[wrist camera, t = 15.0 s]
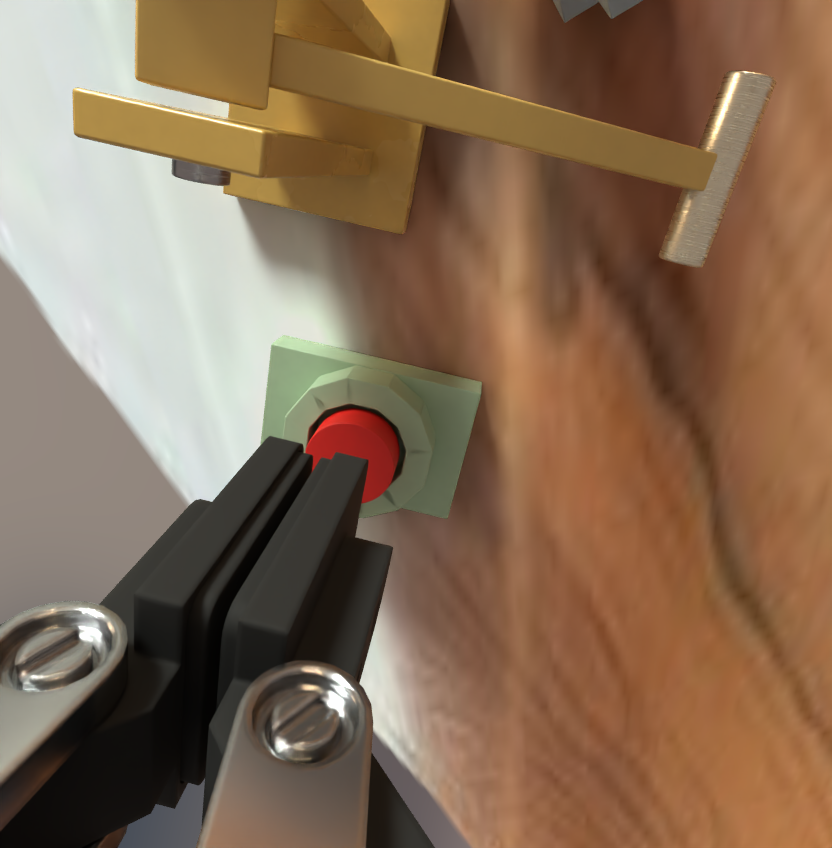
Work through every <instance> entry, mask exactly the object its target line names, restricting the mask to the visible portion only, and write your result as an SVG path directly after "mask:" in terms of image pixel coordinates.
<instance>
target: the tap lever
mask: <svg viewBox="0 0 832 848" xmlns="http://www.w3.org/2000/svg"><path fill="white" fill-rule="evenodd" d="M276 8H277V1H276V0H136V32H135V77H136V79H137V80H138V81H141V82H144V83H147V84H150V85H153V86H157V87H162V88H166V89H170V90H175V91H179V92H183V93H188V94H192V95H196V96H201V97H205V98H209V99H214V100H218V101H222V102H227V103H231V104H235V105H240V106H244V107H248V108H253V109H257V110H265V109H267V106H268V95H269V87H270V88H274V89H278V90H282V91H286V92H291V93H295V94H299V95H303V96H307V97H311V98H315V99H319V100H323V101H327V102H331V103H336V104H340V105H344V106H348V107H352V108H356V109H360V110H364V111H368V112H372V113H377V114H381V115H385V116H389V117H393V118H397V119H401V120H405V121H409V122H413V123H417V124H422V125H426V126H430V127H434V128H438V129H442V130H446V131H450V132H454V133H458V134H462V135H467V136H471V137H475V138H479V139H483V140H487V141H491V142H495V143H499V144H503V145H508V146H512V147H516V148H520V149H524V150H528V151H532V152H536V153H540V154H544V155H548V156H553V157H557V158H561V159H565V160H569V161H573V162H577V163H581V164H585V165H589V166H593V167H598V168H602V169H606V170H610V171H614V172H618V173H622V174H626V175H630V176H634V177H639V178H643V179H647V180H651V181H655V182H659V183H663V184H667V185H671V186H675V187H679V188H683V190H682V193H681V195H680V198H679V201H678V204H677V206H676V209H675V212H674V215H673V217H672V220H671V223H670V225H669V228H668V231H667V234H666V236H665V239H664V242H663V245H662V247H661V250H660V253H659V257H660V258H661V259H664V260H667V261H670V262H674V263H677V264H681V265H685V266H690V267H695V268H702V267H703V265H704V263H705V260H706V258H707V255H708V253H709V250H710V248H711V245H712V243H713V240H714V238H715V235H716V233H717V230H718V228H719V225H720V223H721V220H722V218H723V215H724V213H725V210H726V207H727V205H728V202H729V200H730V197H731V195H732V192H733V190H734V187H735V185H736V182H737V180H738V177H739V175H740V172H741V170H742V167H743V165H744V162H745V160H746V157H747V155H748V152H749V150H750V147H751V145H752V142H753V140H754V137H755V135H756V132H757V130H758V127H759V124H760V122H761V119H762V117H763V114H764V112H765V109H766V107H767V104H768V102H769V99H770V97H771V94H772V92H773V89H774V87H775V84H776V79H775V78H773V77H771V76H769V75H766V74H763V73H758V72H752V71H742V70H735V71H729V72H727V73H726V74H725V75H724V77H723V80H722V83H721V86H720V88H719V91H718V94H717V97H716V99H715V102H714V105H713V108H712V110H711V113H710V116H709V119H708V121H707V124H706V127H705V129H704V132H703V135H702V138H701V140H700V143H699V146H698V148H695V147H692V146H688V145H684V144H681V143H677V142H673V141H670V140H666V139H662V138H659V137H655V136H651V135H648V134H644V133H641V132H637V131H633V130H630V129H626V128H622V127H619V126H615V125H611V124H608V123H604V122H600V121H597V120H593V119H589V118H586V117H582V116H578V115H575V114H571V113H567V112H564V111H560V110H557V109H553V108H549V107H546V106H542V105H538V104H535V103H531V102H527V101H524V100H520V99H516V98H513V97H509V96H505V95H502V94H498V93H494V92H491V91H487V90H484V89H480V88H476V87H473V86H469V85H465V84H462V83H458V82H454V81H451V80H447V79H443V78H440V77H436V76H432V75H429V74H425V73H421V72H418V71H414V70H410V69H407V68H403V67H400V66H396V65H392V64H389V63H385V62H381V61H378V60H374V59H370V58H367V57H363V56H359V55H356V54H352V53H348V52H345V51H341V50H337V49H334V48H330V47H326V46H323V45H319V44H316V43H312V42H308V41H305V40H301V39H297V38H294V37H290V36H286V35H283V34H279V33H274V30H275V19H276Z"/></svg>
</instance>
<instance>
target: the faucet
mask: <svg viewBox="0 0 832 848" xmlns="http://www.w3.org/2000/svg"><path fill="white" fill-rule="evenodd" d="M641 1H643V0H553V2H554V4H555V6H556V8H557V10H558V12H559V14H560V16H561V17H562V19H563V21H564V23H565V22H567V21H569V20H570V19H572V18H574V17H575V16H577V15H579V14H580V13H582V12H584V11H585V10H587V9H588V8H590V7H592V6H593V5H595V4H597V3H598V2H599V3H600V4H601V6H602V7H603V8H604V10H605V11H606V13H607V14H608V16H609V17H610V18H611V19H613V18H614V17H616V16H618V15H619V14H621V13H623V12H624V11H626V10H628V9H629V8H631V7H633V6H634V5H636V4H638V3H639V2H641Z"/></svg>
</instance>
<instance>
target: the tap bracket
mask: <svg viewBox="0 0 832 848" xmlns="http://www.w3.org/2000/svg"><path fill="white" fill-rule="evenodd" d="M276 1H277V8H276V19H275V30H274V33H279V34H283V35H286V36H290V37H294V38H297V39H301V40H305V41H308V42H312V43H316V44H319V45H323V46H326V47H330V48H334V49H337V50H341V51H345V52H348V53H352V54H356V55H359V56H363V57H367V58H370V59H374V60H378V61H381V62H385V63H389V64H392V65H396V66H400V67H403V68H407V69H410V70H414V71H418V72H421V73H425V74H429V75H432V76H436V72H437V67H438V62H439V57H440V51H441V46H442V41H443V36H444V30H445V25H446V20H447V15H448V9H449V4H450V0H276ZM73 122H74V134H75V135H76V136H78V137H80V138H84V139H89V140H93V141H97V142H102V143H106V144H110V145H115V146H119V147H123V148H128V149H132V150H137V151H141V152H145V153H150V154H154V155H158V156H163V157H167V158H171V159H172V175H174V176H175V177H178V178H181V179H184V180H188V181H193V182H198V183H203V184H209V185H217V186H224V189H223V193H224V194H228V195H232V196H236V197H241V198H245V199H249V200H254V201H258V202H262V203H267V204H271V205H275V206H280V207H284V208H288V209H293V210H297V211H302V212H306V213H310V214H315V215H319V216H323V217H328V218H332V219H336V220H341V221H345V222H349V223H354V224H358V225H362V226H367V227H371V228H375V229H380V230H384V231H388V232H393V233H397V234H403V233H405V232H406V229H407V224H408V219H409V214H410V209H411V203H412V198H413V193H414V188H415V182H416V177H417V172H418V167H419V161H420V156H421V151H422V146H423V140H424V135H425V130H426V125H422V124H417V123H413V122H409V121H405V120H401V119H397V118H393V117H389V116H385V115H381V114H377V113H372V112H368V111H364V110H360V109H356V108H352V107H348V106H344V105H340V104H336V103H331V102H327V101H323V100H319V99H315V98H311V97H307V96H303V95H299V94H295V93H291V92H286V91H282V90H278V89H274V88H270V87H269V95H268V106H267V109H265V110H257V109H253V108H248V107H244V106H240V105H235V104H231V103H229V115H228V118H225V117H220V116H215V115H210V114H205V113H200V112H195V111H190V110H185V109H180V108H176V107H171V106H166V105H161V104H156V103H151V102H146V101H141V100H136V99H131V98H127V97H122V96H117V95H112V94H107V93H102V92H97V91H92V90H87V89H82V88H74V89H73Z"/></svg>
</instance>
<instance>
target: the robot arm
mask: <svg viewBox="0 0 832 848" xmlns="http://www.w3.org/2000/svg"><path fill="white" fill-rule="evenodd" d="M368 463H369V461H368V459H364V458H360V457H355V456H351V455H347V454H343V453H339V452H336V453H335V454H334V456H333V457H332V459H327V458H323V457H321V459H320V460H319V462H318V463H317V465H316V466H315V468H314V470H313V471H312V467H313V455H311V454H307V453H304V446H303V444H302V443H298V442H293V441H289V440H285V439H281V438H277V437H273V436H269V437H268V438H267V439H266V440H265V441H264V442H263V443H262V444H261V446H260V447H259V448H258V449H257V450H256V451H255V453H254V454H253V455H252V456H251V457H250V458H249V460H248V461H247V462H246V463H245V464H244V465H243V467H242V468H241V469H240V470H239V471H238V472H237V474H236V475H235V476H234V477H233V478H232V479H231V481H230V482H229V483H228V484H227V485H226V487H225V488H224V489H223V490H222V491H221V492H220V494H219V495H218V496H217V497H216V498H215V499H214V501H213V502H210V501H206V500H202V499H199V500H195V501H194V502H193V503H192V504H191V505H189V506H188V508H187V509H186V510H185V511H184V512H183V513H182V514H181V515H180V516H179V518H178V519H177V520H176V521H175V522H174V523H173V524H172V525H171V526H170V527H169V529H167V531H166V532H165V533H164V534H163V535H162V536H161V537H160V538H159V539H158V541H157V542H156V543H155V544H154V545H153V546H152V547H151V548H150V549H149V550H148V552H147V553H146V554H145V555H144V556H143V557H142V558H141V559H140V560H139V561H138V563H137V564H136V565H135V566H134V567H133V568H132V569H131V570H130V571H129V572H128V573H127V574H126V576H125V577H124V578H123V579H122V580H121V581H120V582H119V583H118V584H117V585H116V587H115V588H114V589H113V590H112V591H111V592H110V593H109V594H108V595H107V597H105V599H104V600H103V601H102V602H101V603H100V604H99V605H97V604H93V603H89V602H82V601H81V602H80V601H79V602H78V601H64V602H57V603H52V604H46V605H41V606H38V607H36V608H33V609H30V610H28V611H25V612H22V613H20V614H18V615H16V616H14V617H13V618H11V619H9V620H8V621H6V622H4V623H3V624H1V625H0V848H118V846H119V844H120V842H121V840H122V839H123V837H124V835H125V833H126V830H127V826H128V824H130V823H132V822H134V821H136V820H138V819H140V818H142V817H144V816H146V815H148V814H150V813H151V812H152V810H153V808H154V806H155V804H159V805H163V806H167V807H171V808H174V809H175V807H176V805H177V803H178V801H179V799H180V797H181V795H182V793H183V791H184V789H185V788H186V785H187V784H188V783H192V784H195V785H200V784H201V783H202V781H203V780H204V778H205V789H204V802H203V816H202V829H201V832H200V835H199V839H198V842H197V845H196V848H435V847H434V846H433V844H432V843H431V841H430V840H429V838H428V837H427V835H426V834H425V832H424V831H423V829H422V828H421V826H420V825H419V824H418V822H417V820H416V819H415V818H414V816H413V814H412V813H411V811H410V810H409V808H408V807H407V805H406V804H405V802H404V801H403V799H402V798H401V796H400V795H399V793H398V792H397V790H396V789H395V787H394V786H393V784H392V783H391V781H390V780H389V778H388V777H387V775H386V774H385V772H384V771H383V769H382V768H381V766H380V765H379V763H378V762H377V760H376V759H375V757H374V756H373V754H372V752H371V750H372V733H373V717H372V708H371V703H370V701H369V699H368V697H367V695H366V693H365V691H364V689H363V687H362V686H361V685H360V684H359V682H360V679H361V675H362V672H363V668H364V664H365V661H366V657H367V653H368V650H369V646H370V642H371V639H372V635H373V631H374V628H375V624H376V620H377V616H378V612H379V608H380V604H381V600H382V596H383V591H384V587H385V583H386V578H387V574H388V569H389V565H390V560H391V556H392V550H393V547H392V546H388V545H383V544H379V543H375V542H371V541H367V540H363V539H359V538H355V535H356V529H357V524H358V519H359V513H360V508H361V503H362V498H363V492H364V487H365V482H366V476H367V471H368Z"/></svg>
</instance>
